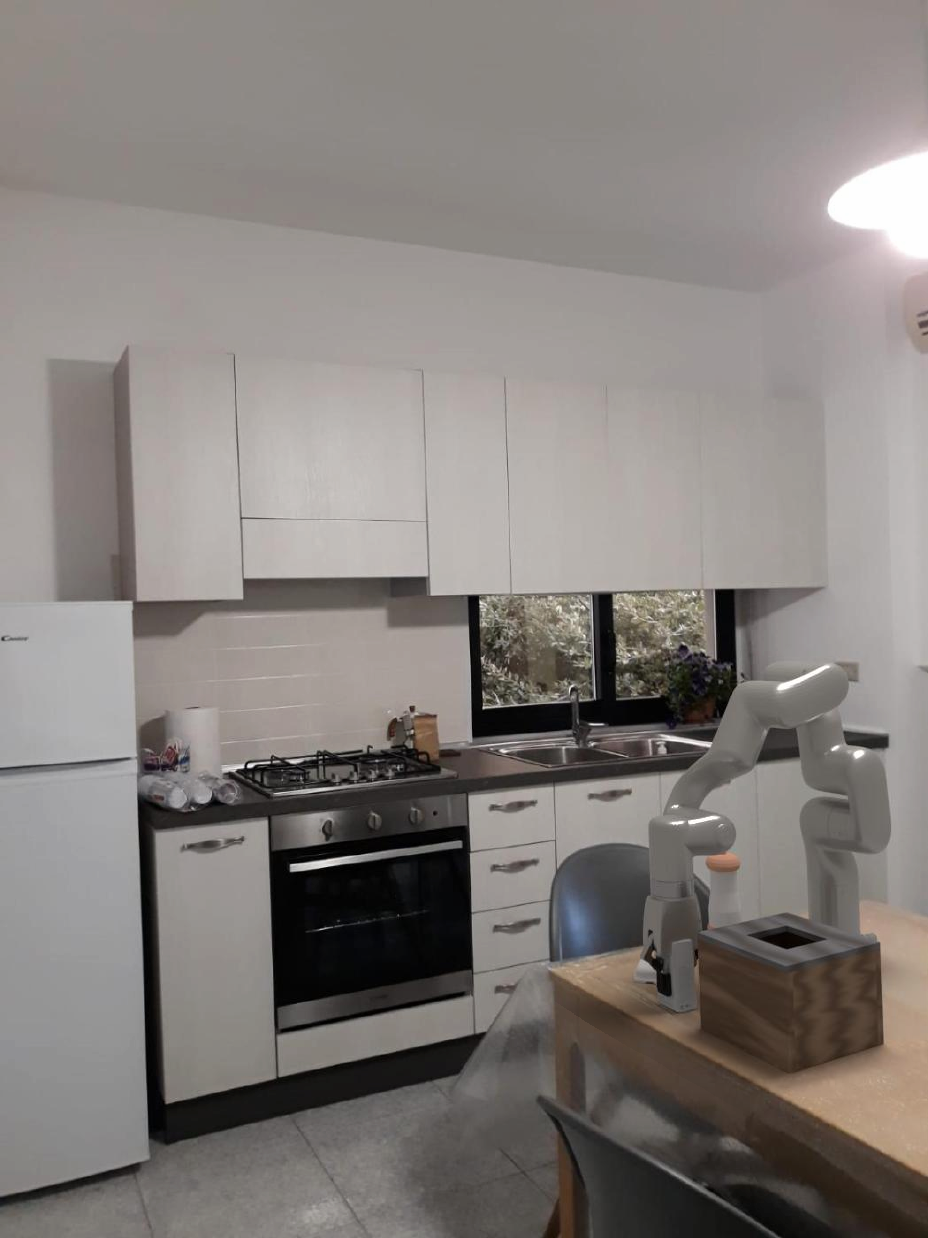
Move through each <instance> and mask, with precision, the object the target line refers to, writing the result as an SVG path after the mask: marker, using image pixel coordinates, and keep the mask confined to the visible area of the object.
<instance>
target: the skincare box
mask: <svg viewBox="0 0 928 1238" xmlns="http://www.w3.org/2000/svg"><path fill="white" fill-rule="evenodd" d="M661 964H662V958H661ZM667 973H670V975H671V990H672V995H671V996H669V997H667V996H665V995H663V994H661V993H659V992H658V991H657V1000H658V1001H657V1002H658V1003H659V1004H661V1005H663V1006H664V1007H667V1008H669V1009H671V1010H673V1011H675V1012H677V1013H687V1012H689V1011H693V1010H696V1009H697V1007H698V1006H697V1005H698V1004H697V992H696V990H697V989H696V978H695V975H696V974H695V967H694V958H693V943H692V940H690V939H689V940H683V941H679V942H674V943H672V955H671V956H669V967H668V972H667Z"/></svg>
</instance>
